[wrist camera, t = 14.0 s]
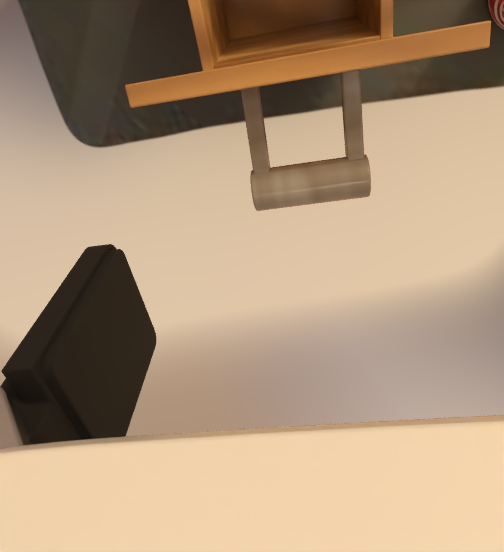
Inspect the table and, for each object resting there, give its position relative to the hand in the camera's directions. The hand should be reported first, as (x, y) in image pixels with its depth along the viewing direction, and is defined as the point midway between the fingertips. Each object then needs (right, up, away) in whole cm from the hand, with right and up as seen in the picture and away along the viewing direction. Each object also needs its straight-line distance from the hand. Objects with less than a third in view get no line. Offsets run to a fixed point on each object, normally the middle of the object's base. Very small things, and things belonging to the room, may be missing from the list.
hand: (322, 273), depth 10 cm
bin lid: (+1, +11, +12) cm, 16 cm away
